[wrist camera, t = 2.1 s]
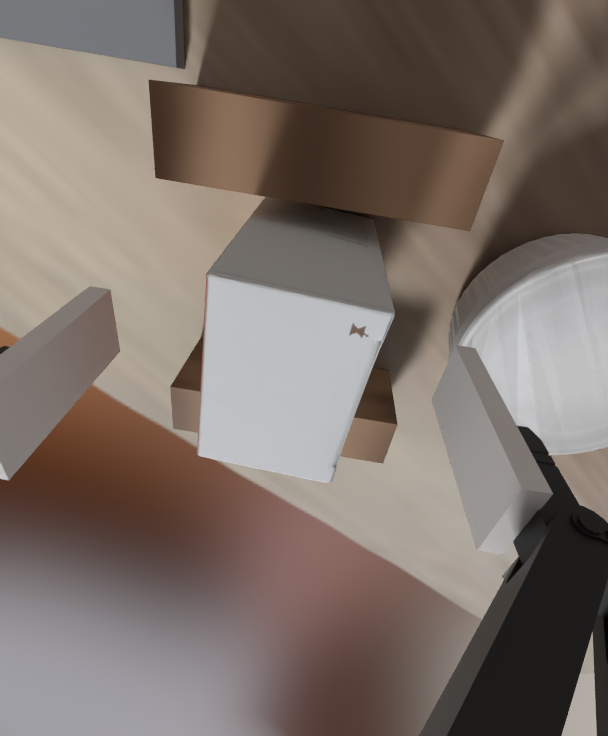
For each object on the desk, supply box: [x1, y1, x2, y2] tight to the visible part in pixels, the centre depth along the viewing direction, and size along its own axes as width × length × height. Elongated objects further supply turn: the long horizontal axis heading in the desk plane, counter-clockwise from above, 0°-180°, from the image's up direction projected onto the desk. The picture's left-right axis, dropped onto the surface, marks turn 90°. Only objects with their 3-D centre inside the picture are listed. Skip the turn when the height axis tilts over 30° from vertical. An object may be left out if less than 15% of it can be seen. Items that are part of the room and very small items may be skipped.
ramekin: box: [448, 233, 608, 455], centre depth 20 cm, size 11×11×5 cm
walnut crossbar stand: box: [149, 80, 504, 463], centre depth 20 cm, size 12×16×5 cm
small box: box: [197, 197, 395, 483], centre depth 17 cm, size 8×6×10 cm
